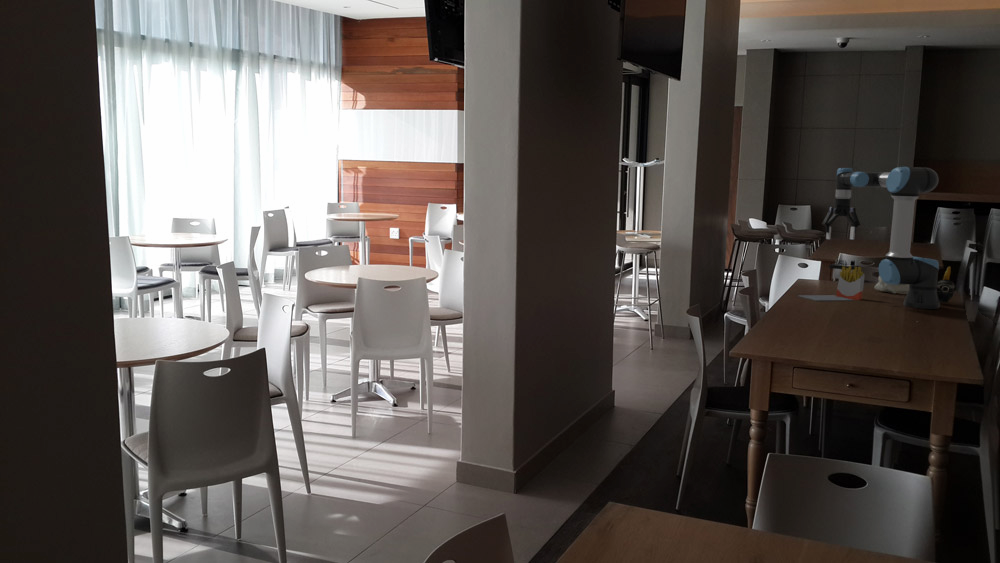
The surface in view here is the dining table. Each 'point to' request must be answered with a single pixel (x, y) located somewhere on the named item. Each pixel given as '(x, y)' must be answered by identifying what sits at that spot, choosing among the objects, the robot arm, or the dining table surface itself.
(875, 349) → the dining table surface
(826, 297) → the mat
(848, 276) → the french fries container
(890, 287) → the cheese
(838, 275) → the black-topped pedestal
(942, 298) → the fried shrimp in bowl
